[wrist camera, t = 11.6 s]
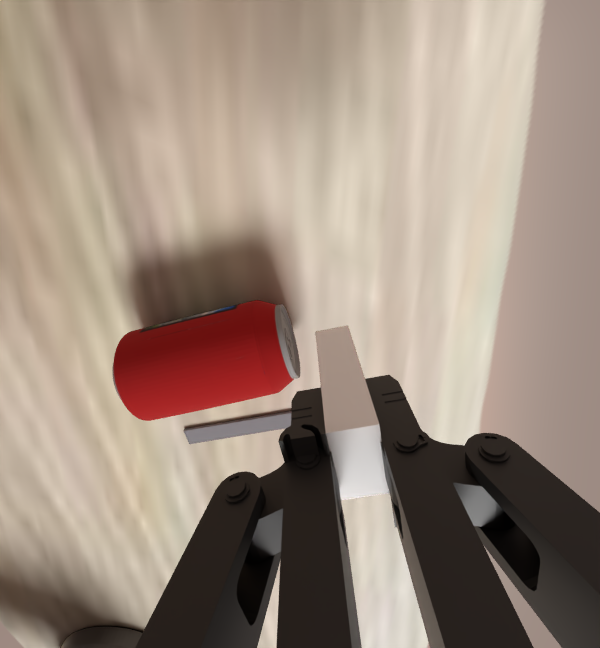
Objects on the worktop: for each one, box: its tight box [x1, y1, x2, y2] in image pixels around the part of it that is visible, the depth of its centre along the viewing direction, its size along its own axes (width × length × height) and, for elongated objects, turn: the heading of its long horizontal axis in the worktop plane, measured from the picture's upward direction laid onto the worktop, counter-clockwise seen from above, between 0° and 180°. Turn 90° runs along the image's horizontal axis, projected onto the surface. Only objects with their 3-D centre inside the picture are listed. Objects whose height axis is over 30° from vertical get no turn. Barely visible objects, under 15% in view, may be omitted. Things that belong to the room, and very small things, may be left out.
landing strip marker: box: [184, 411, 292, 444], centre depth 31 cm, size 18×2×1 cm, turn 102°
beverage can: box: [113, 300, 300, 421], centre depth 24 cm, size 7×7×12 cm
